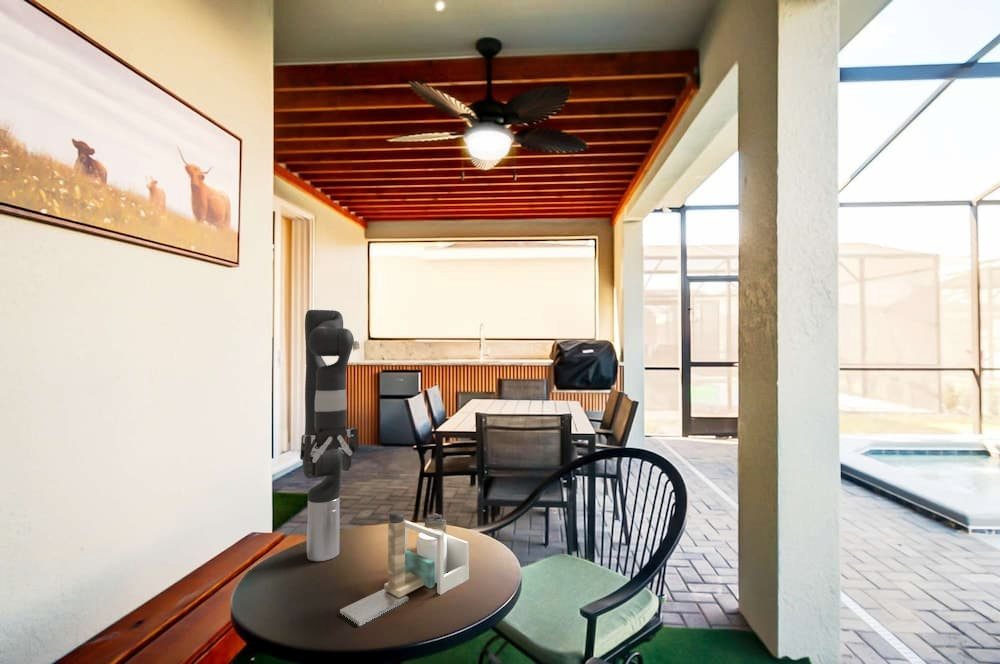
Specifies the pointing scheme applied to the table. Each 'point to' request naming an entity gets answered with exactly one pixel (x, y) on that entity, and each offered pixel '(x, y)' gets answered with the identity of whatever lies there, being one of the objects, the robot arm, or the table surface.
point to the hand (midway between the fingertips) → (330, 473)
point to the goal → (455, 558)
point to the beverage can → (431, 549)
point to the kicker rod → (405, 562)
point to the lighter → (436, 523)
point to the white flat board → (372, 606)
